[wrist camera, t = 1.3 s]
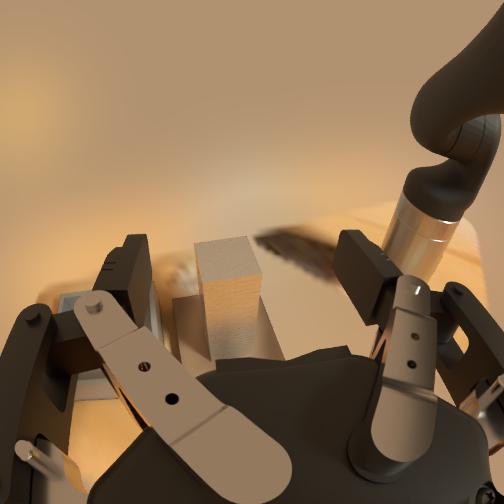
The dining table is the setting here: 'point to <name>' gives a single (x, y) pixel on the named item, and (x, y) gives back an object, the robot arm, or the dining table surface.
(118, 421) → the dining table surface
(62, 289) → the dining table surface
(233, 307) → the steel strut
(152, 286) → the grey tray
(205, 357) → the stud block
